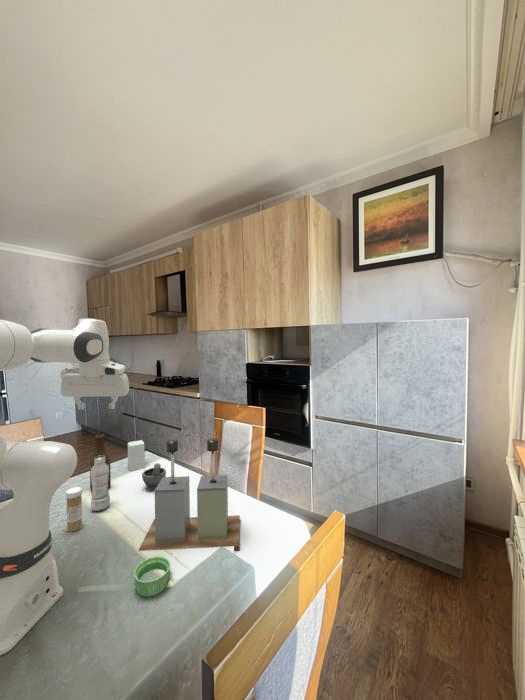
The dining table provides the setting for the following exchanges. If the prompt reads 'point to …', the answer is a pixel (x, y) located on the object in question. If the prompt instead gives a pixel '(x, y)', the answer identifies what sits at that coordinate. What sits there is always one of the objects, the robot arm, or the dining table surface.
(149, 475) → the mortar and pestle
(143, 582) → the ramekin
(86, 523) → the dining table surface
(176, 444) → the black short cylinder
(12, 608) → the robot arm
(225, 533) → the olive slotted block
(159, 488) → the grey block
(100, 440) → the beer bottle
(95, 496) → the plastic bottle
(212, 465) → the black plunger knob
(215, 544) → the walnut board
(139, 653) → the dining table surface
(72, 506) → the sprinkles bottle
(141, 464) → the supplement box
